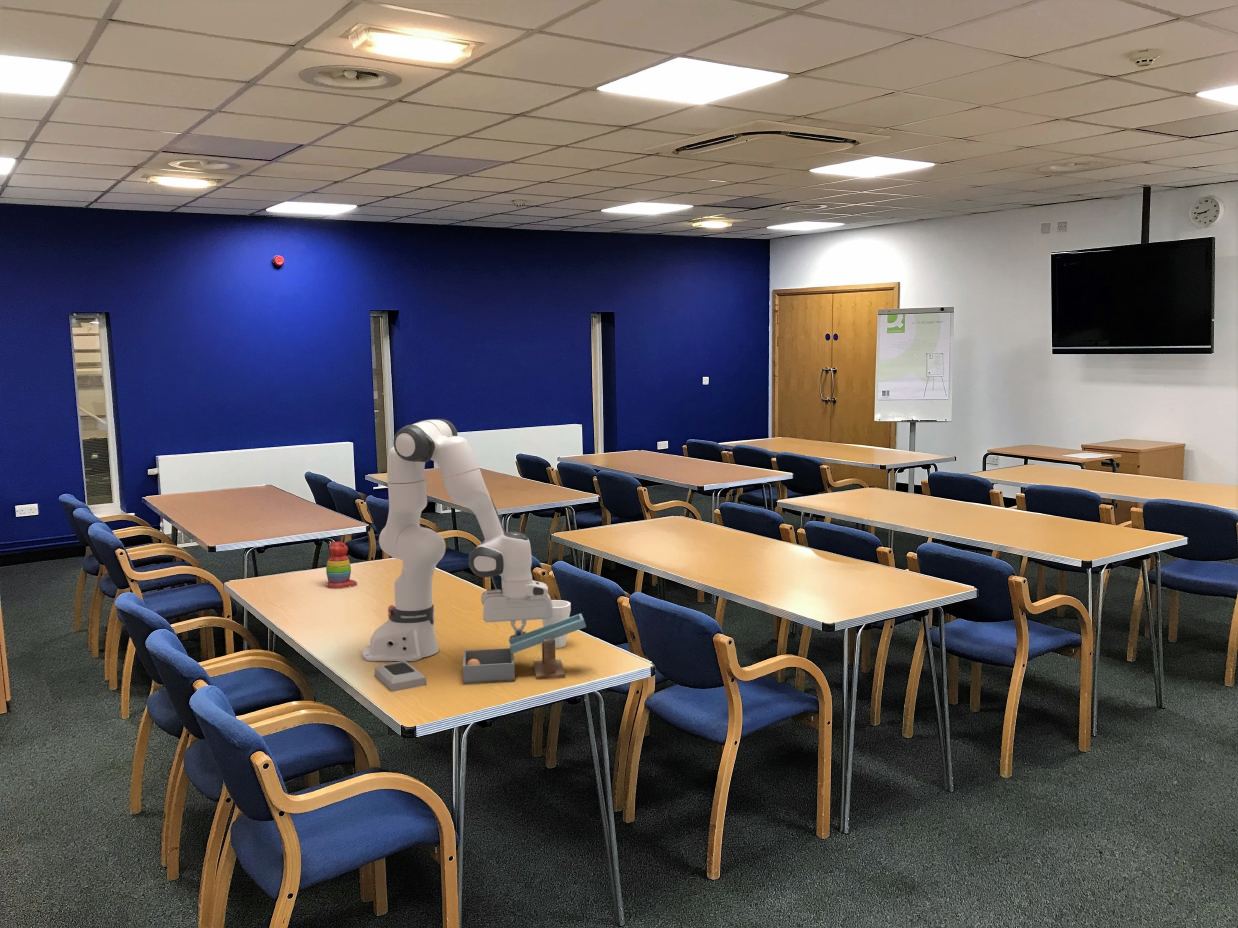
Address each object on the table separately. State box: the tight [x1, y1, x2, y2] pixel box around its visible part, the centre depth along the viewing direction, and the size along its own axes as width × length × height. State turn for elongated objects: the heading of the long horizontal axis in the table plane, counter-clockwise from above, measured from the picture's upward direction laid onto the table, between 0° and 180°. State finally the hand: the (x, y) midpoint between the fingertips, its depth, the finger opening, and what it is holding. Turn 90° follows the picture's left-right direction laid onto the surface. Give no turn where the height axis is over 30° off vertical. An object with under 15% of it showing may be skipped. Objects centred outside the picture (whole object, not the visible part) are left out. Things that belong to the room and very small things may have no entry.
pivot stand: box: [533, 638, 566, 680], centre depth 265 cm, size 8×13×11 cm, turn 9°
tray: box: [462, 647, 516, 685], centre depth 263 cm, size 14×14×5 cm
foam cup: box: [541, 599, 572, 649], centre depth 289 cm, size 10×9×13 cm
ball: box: [467, 659, 481, 665], centre depth 262 cm, size 4×4×4 cm
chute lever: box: [508, 613, 587, 655], centre depth 267 cm, size 22×13×2 cm, turn 98°
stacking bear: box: [325, 541, 358, 589], centre depth 366 cm, size 11×10×18 cm
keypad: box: [374, 661, 427, 692], centre depth 258 cm, size 10×4×15 cm
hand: (518, 634), depth 269 cm, fingers closed
